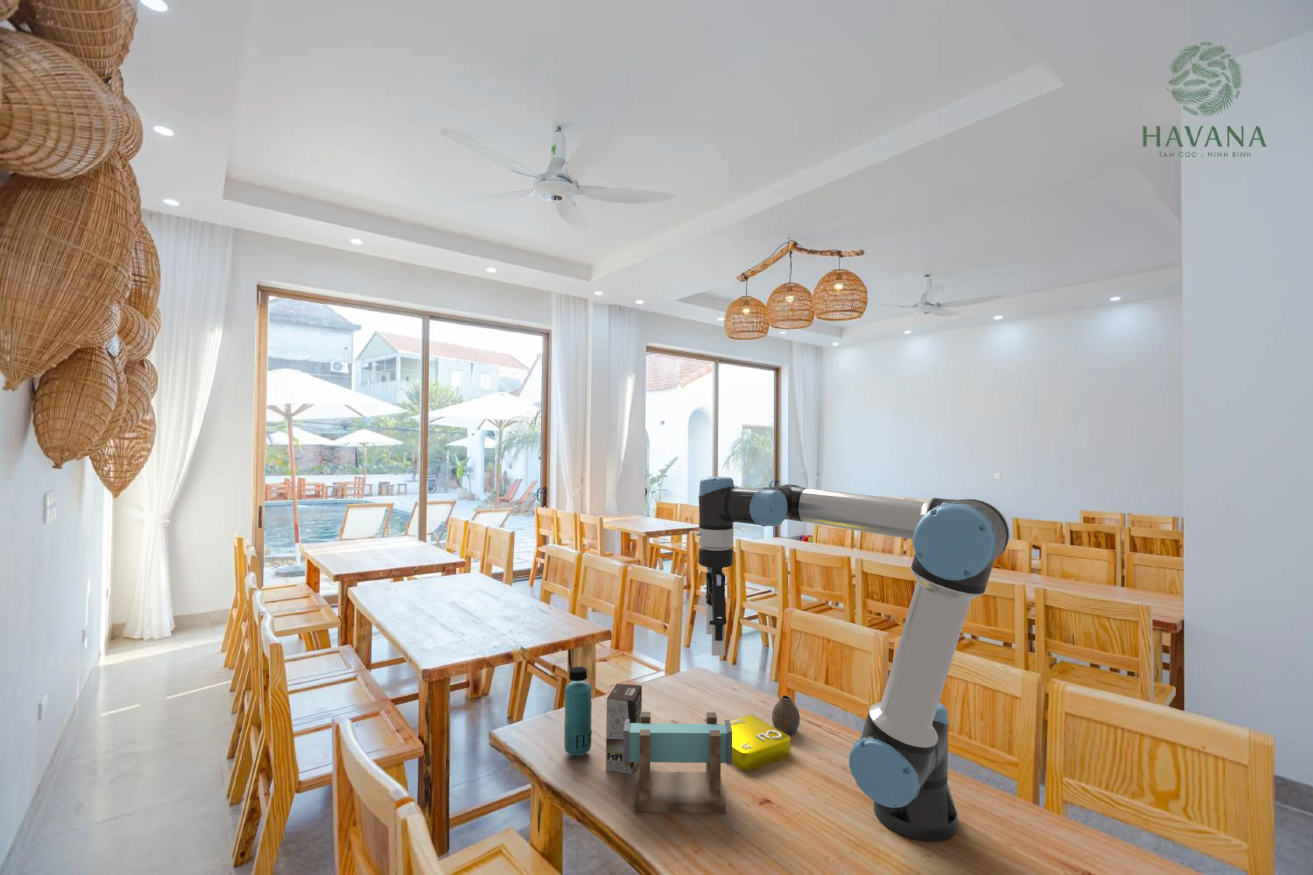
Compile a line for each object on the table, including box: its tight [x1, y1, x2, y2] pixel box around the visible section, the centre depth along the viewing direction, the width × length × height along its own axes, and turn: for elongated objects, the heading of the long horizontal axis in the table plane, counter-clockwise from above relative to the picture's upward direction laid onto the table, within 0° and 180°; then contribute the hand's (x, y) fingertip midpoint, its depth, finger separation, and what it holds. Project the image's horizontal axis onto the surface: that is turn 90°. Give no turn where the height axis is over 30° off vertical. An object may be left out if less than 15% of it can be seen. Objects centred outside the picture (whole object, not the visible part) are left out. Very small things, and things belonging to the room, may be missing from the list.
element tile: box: [720, 714, 792, 772], centre depth 143 cm, size 15×15×5 cm
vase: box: [771, 695, 801, 736], centre depth 152 cm, size 7×7×9 cm
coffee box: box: [605, 683, 643, 775], centre depth 137 cm, size 9×6×16 cm
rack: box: [633, 711, 727, 814], centre depth 124 cm, size 18×11×15 cm, turn 90°
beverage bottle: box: [563, 666, 593, 756], centre depth 140 cm, size 6×7×20 cm
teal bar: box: [623, 719, 733, 766], centre depth 124 cm, size 22×5×7 cm, turn 90°
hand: (715, 644), depth 132 cm, fingers open, 13 cm apart
